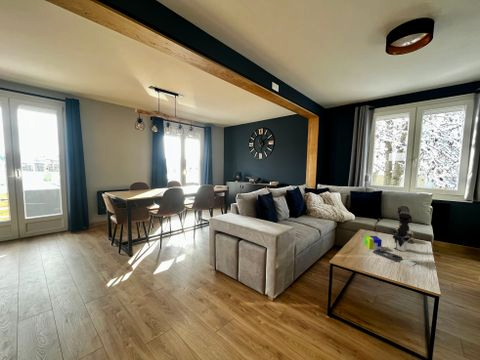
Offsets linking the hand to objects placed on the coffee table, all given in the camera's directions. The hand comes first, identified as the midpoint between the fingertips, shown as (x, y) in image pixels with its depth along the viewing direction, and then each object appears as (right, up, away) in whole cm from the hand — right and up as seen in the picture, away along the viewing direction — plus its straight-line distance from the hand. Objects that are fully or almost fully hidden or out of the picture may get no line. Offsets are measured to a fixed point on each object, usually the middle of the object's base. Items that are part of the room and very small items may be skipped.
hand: (401, 245), depth 164 cm
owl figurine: (+38, -9, +45) cm, 60 cm away
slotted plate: (-6, -12, +8) cm, 16 cm away
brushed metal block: (0, -3, 0) cm, 3 cm away
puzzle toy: (-7, -10, +26) cm, 29 cm away
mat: (+3, -13, -3) cm, 13 cm away
